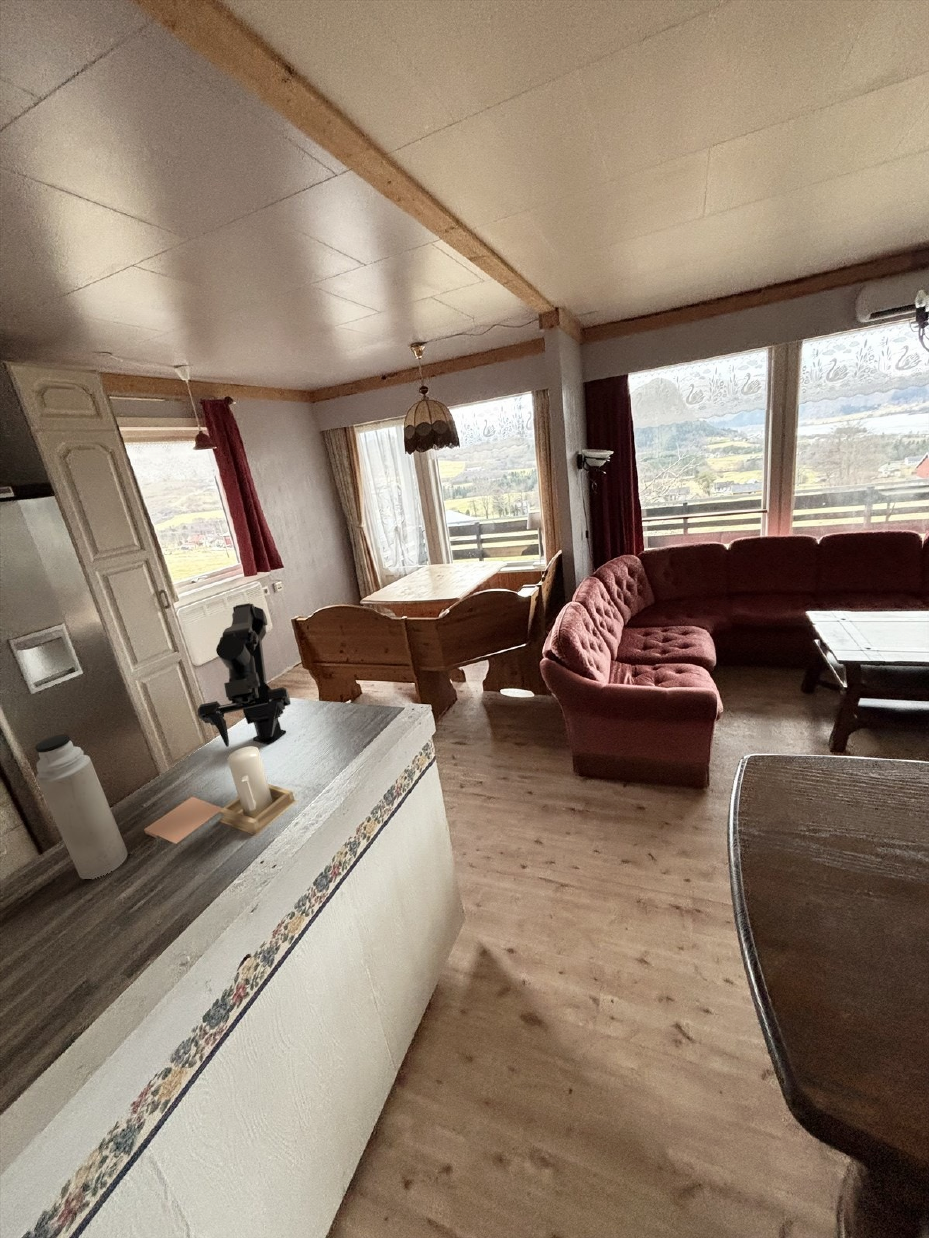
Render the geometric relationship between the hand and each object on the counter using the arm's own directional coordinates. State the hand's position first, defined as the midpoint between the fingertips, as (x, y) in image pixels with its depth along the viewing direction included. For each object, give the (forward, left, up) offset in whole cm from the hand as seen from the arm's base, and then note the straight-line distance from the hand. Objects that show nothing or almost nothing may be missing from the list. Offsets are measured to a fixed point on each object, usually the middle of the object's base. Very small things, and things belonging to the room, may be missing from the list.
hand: (249, 740), depth 109 cm
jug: (+6, -6, -13) cm, 15 cm away
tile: (-8, -14, -14) cm, 21 cm away
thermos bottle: (-13, -28, -14) cm, 34 cm away
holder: (+6, -6, -14) cm, 16 cm away
